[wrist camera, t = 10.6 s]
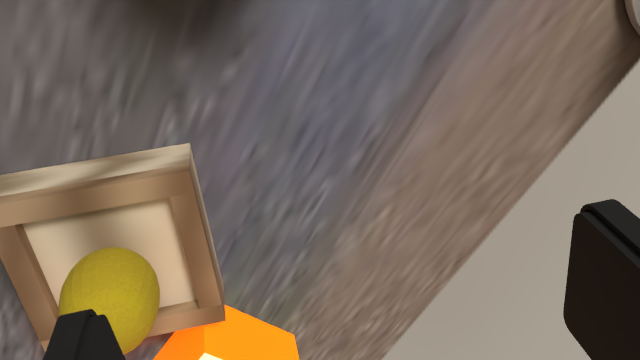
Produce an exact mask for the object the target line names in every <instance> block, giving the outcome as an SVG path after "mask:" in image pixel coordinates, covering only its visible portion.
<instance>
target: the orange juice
mask: <svg viewBox="0 0 640 360" xmlns="http://www.w3.org/2000/svg"><path fill="white" fill-rule="evenodd" d="M225 318H226V321H222V322H217V323H212V324H208V325H203V326H198V327H193V328H189V329H184V330H179V331H175V332H174V334H173V335H172V336H171V338H170V339H169V340H168V341H167V343H166V344H165V345H164V346H163V348H162V349H161V350H160V352H159V353H158V354H157V355H156V357H155V358H154V359H153V360H299V356H298V352H297V347H296V342H295V338H294V335H293V334H291V333H288V332H286V331H284V330H281V329H279V328H277V327H275V326H272V325H270V324H268V323H265V322H263V321H261V320H258V319H256V318H254V317H252V316H249V315H247V314H245V313H242V312H240V311H238V310H236V309H233V308H231V307H229V306H226V305H225Z"/></svg>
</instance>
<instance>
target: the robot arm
mask: <svg viewBox="0 0 640 360" xmlns="http://www.w3.org/2000/svg"><path fill="white" fill-rule="evenodd" d="M625 6H626V11H627V14H628V16H629V19H630V21H631V24H632V26H633V27H634V28H635V30H636V31H637V33H638V34H639V35H640V0H625ZM564 320H565V323H566V325H567V328H568V329H569V331H570V332H571V334H572V335H573V336H574V337H575V339H576V340H577V341H578V343H579V344H580V345H581V346H582V348H583V349H584V350H585V352H586V353H587V354H588V356H589V357H590V358H591V360H640V219H639V218H638V217H637V216H635V215H634V214H633V213H632V212H631V211H629V210H628V209H627V208H625V206H623V205H622V204H621V203H620V202H618V201H616V200H613V199H610V200H605V201H601V202H596V203H591V204H587V205H584V206H583V207H582V208H581V211H580V213H579V214H576V215H575V217H574V221H573V230H572V239H571V248H570V257H569V266H568V275H567V284H566V294H565V302H564ZM43 360H125V357H124V355H123V353H122V350H121V348H120V346H119V343H118V341H117V339H116V337H115V334H114V332H113V330H112V327H111V325H110V323H109V320H108V318H107V317H106V316H105V315H104V314H102V315H97V314H96V312H95V311H94V310H93V309H88V310H83V311H78V312H74V313H69V314H64V315H61V316H59V317H58V319H57V321H56V324H55V327H54V330H53V333H52V335H51V338H50V341H49V344H48V347H47V350H46V353H45V355H44V358H43Z"/></svg>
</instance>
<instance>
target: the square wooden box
mask: <svg viewBox="0 0 640 360" xmlns="http://www.w3.org/2000/svg"><path fill="white" fill-rule="evenodd" d="M109 247H119V248H126V249H129V250H132V251H134V252H136V253H138V254H140V255H141V256H142V257H144V258H145V259H146V260H147V261H148V262H149V263H150V265H151V266H152V268H153V270H154V271H155V273H156V275H157V279H158V283H159V287H160V303H159V310H158V314H157V317H156V319H155V321H154V324H153V326H152V328H151V330H150V332H149V334H148V335H147V336H146V337H150V336H155V335H160V334H165V333H170V332H174V331H179V330H184V329H189V328H193V327H198V326H203V325H208V324H212V323H217V322H222V321H226V318H225V304H224V290H223V282H222V278H221V273H220V269H219V265H218V261H217V256H216V252H215V248H214V244H213V239H212V235H211V231H210V227H209V222H208V218H207V214H206V210H205V206H204V201H203V197H202V193H201V189H200V184H199V180H198V176H197V172H196V167H195V163H194V159H193V155H192V150H191V146H190V143H186V144H180V145H174V146H168V147H163V148H157V149H151V150H145V151H139V152H133V153H127V154H121V155H115V156H110V157H104V158H98V159H92V160H86V161H80V162H74V163H68V164H63V165H57V166H51V167H45V168H39V169H33V170H27V171H21V172H16V173H10V174H4V175H0V258H1V260H2V262H3V265H4V267H5V269H6V271H7V273H8V275H9V277H10V279H11V281H12V284H13V286H14V288H15V290H16V292H17V294H18V296H19V298H20V300H21V303H22V305H23V307H24V309H25V311H26V313H27V315H28V317H29V319H30V321H31V324H32V326H33V328H34V330H35V332H36V334H37V336H38V338H39V340H40V343H41V345H42V347H43V349H44V351H45V353H46V350H47V347H48V344H49V341H50V338H51V335H52V333H53V330H54V327H55V324H56V321H57V319H58V317H59V314H58V306H59V299H60V293H61V289H62V286H63V284H64V282H65V280H66V278H67V276H68V274H69V272H70V271H71V269H72V268H73V267H74V266H75V265H76V264H77V263H78V262H79V261H80V260H81V259H82V258H83V257H85V256H87V255H88V254H90V253H92V252H94V251H96V250H100V249H103V248H109Z"/></svg>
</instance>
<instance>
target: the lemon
mask: <svg viewBox="0 0 640 360" xmlns="http://www.w3.org/2000/svg"><path fill="white" fill-rule="evenodd" d="M159 303H160V287H159V283H158V279H157V275H156V273H155V271H154V270H153V268H152V266H151V265H150V263H149V262H148V261H147V260H146V259H145V258H144V257H142V256H141V255H140V254H138V253H136V252H134V251H132V250H129V249H126V248H119V247H109V248H103V249H100V250H96V251H94V252H92V253H90V254H88V255H87V256H85V257H83V258H82V259H81V260H80V261H79V262H78V263H77V264H76V265H75V266H74V267H73V268H72V269H71V271H70V272H69V274H68V276H67V278H66V280H65V282H64V284H63V286H62V289H61V293H60V299H59V306H58V314H59V316H61V315H64V314H69V313H74V312H78V311H83V310H88V309H93V310H94V311H95V312H96V314H97V315H102V314H104V315H105V316H106V317H107V318H108V320H109V323H110V325H111V327H112V330H113V332H114V334H115V337H116V339H117V341H118V343H119V346H120V348H121V350H122V353H123V355H124V354H126V353H128V352H130V351H132V350H133V349H134V348H136V347H137V346H138V345H140V344H141V342H142V341H143V340H144V339H145V338H146V336H147V335H148V334H149V332H150V330H151V328H152V326H153V324H154V321H155V319H156V317H157V314H158V310H159Z"/></svg>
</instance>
